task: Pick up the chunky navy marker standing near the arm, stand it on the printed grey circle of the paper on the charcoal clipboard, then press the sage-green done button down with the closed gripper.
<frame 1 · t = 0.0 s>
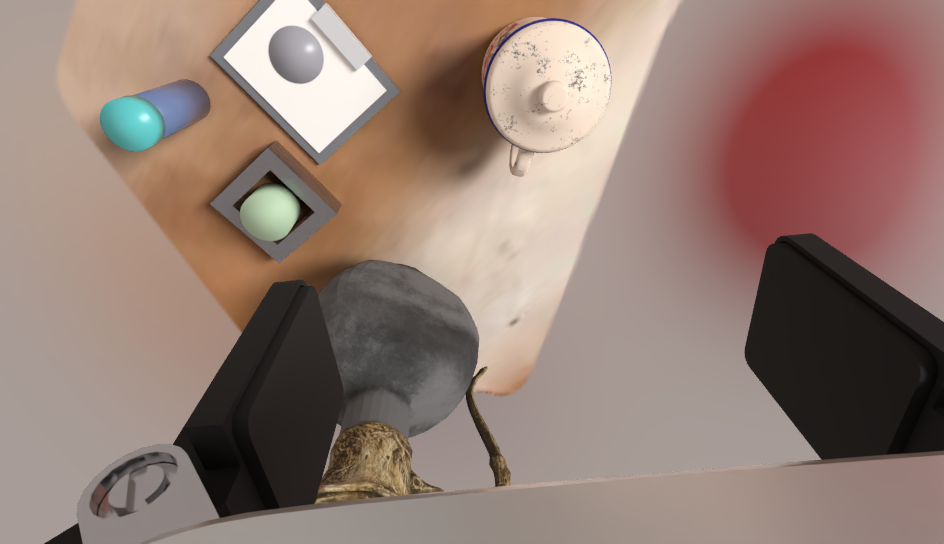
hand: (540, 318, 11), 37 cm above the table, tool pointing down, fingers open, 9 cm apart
done button: (271, 211, 46), point 3 cm above the table, slide at 0.0 cm
done button base: (281, 199, 48), on the table
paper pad: (308, 73, 43), on the table
teacup with lid: (526, 89, 44), on the table
pitcher: (414, 298, 54), on the table
marker: (189, 100, 44), on the table
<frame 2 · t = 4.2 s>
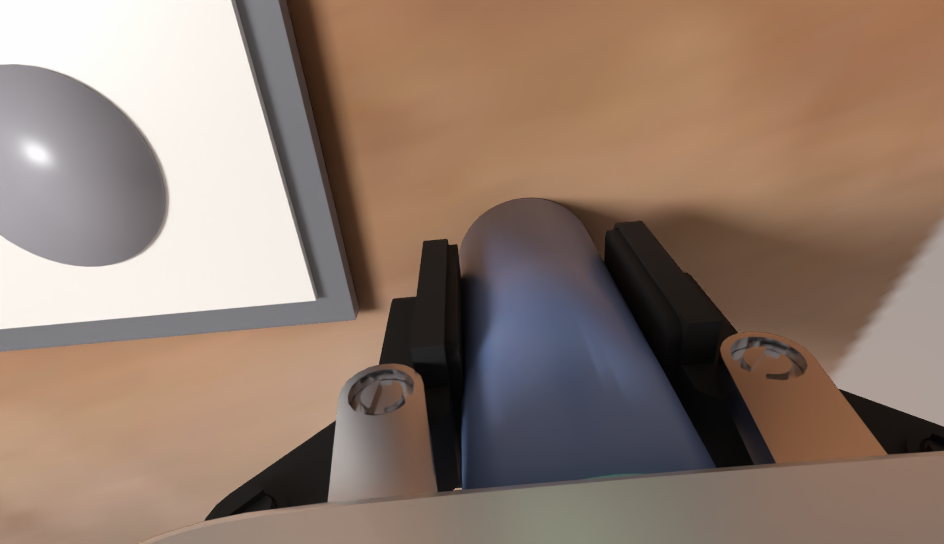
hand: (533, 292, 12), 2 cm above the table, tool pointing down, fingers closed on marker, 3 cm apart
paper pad: (68, 93, 11), on the table
marker: (525, 260, 13), on the table, touching gripper
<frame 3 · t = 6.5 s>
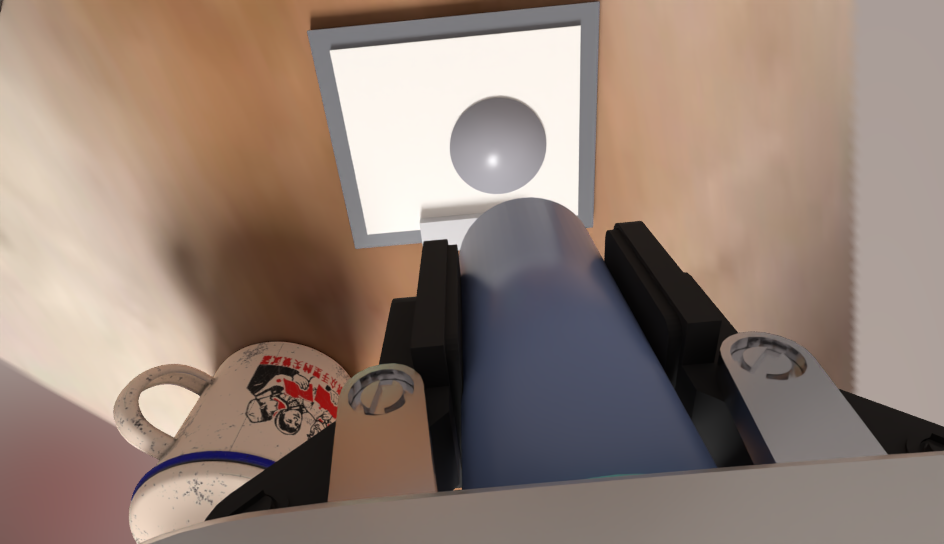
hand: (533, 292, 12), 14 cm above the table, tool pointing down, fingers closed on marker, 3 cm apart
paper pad: (464, 136, 23), on the table
teacup with lid: (270, 380, 30), on the table
marker: (525, 260, 13), point 12 cm above the table, touching gripper
when the fingers open (3 cm above the table, at t = 8.9 s): marker stays where it is, resting on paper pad.
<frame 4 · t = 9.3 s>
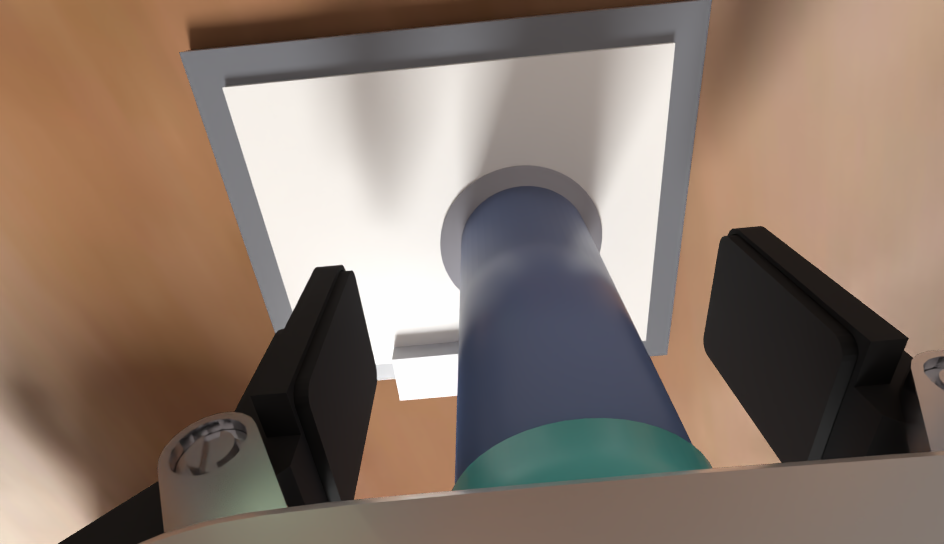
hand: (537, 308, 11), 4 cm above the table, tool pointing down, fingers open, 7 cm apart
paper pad: (464, 221, 14), on the table
marker: (523, 245, 14), point 1 cm above the table, touching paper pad
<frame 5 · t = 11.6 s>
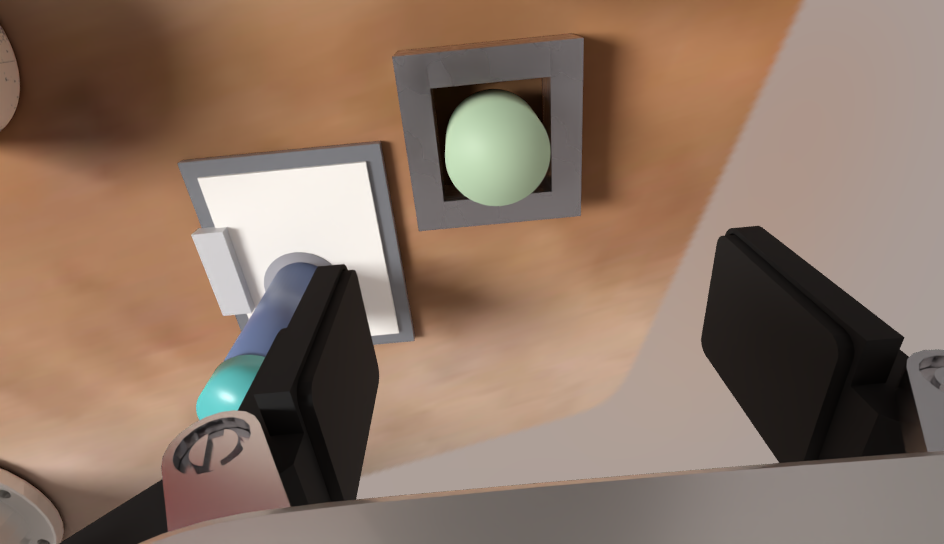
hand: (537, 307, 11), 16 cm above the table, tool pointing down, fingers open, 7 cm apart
done button: (495, 146, 22), point 3 cm above the table, slide at 0.0 cm
done button base: (490, 130, 25), on the table
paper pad: (310, 256, 28), on the table
marker: (304, 289, 28), point 1 cm above the table, touching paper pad
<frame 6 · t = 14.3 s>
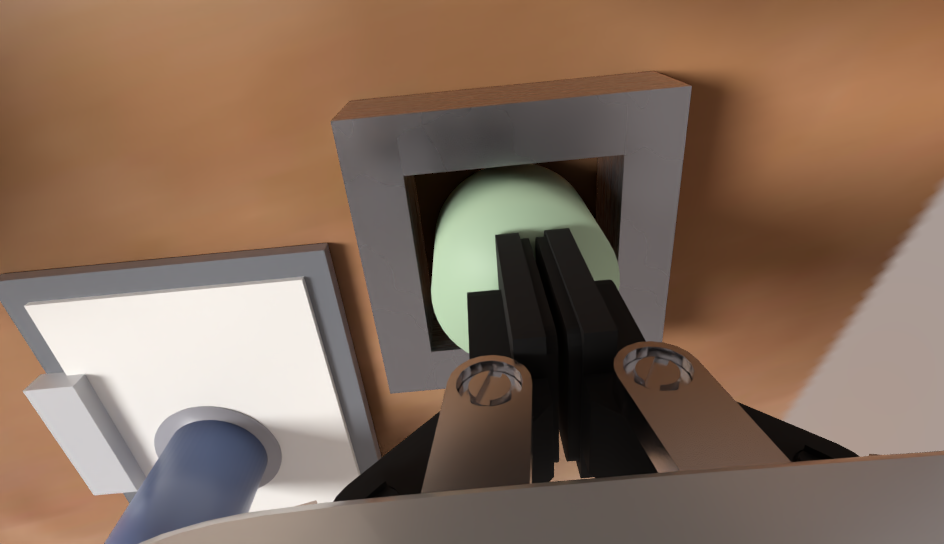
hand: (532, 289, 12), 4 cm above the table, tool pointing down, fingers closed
done button: (518, 262, 13), point 2 cm above the table, slide at 0.7 cm, touching gripper
done button base: (509, 225, 15), on the table
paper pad: (227, 405, 18), on the table
marker: (219, 454, 18), point 1 cm above the table, touching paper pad
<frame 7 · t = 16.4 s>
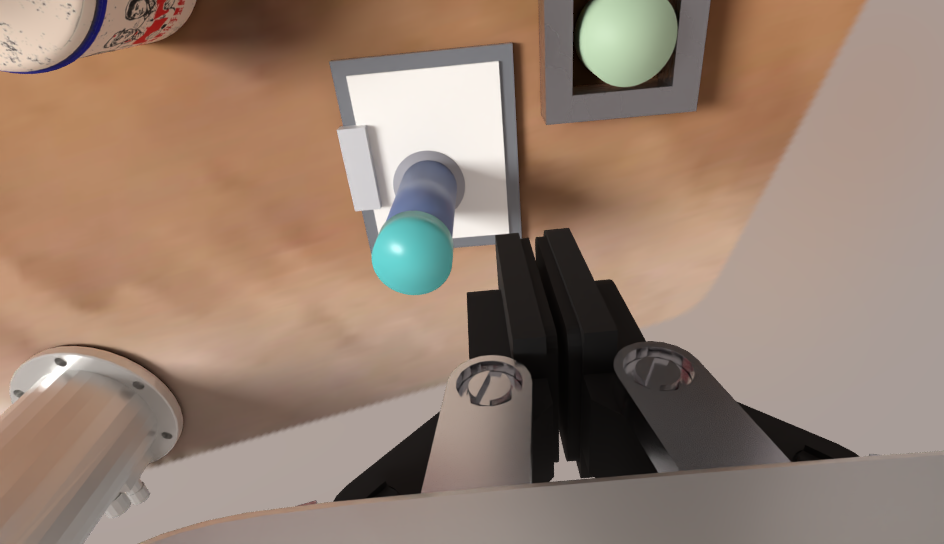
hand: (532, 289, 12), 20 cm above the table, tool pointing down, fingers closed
done button: (622, 35, 26), point 2 cm above the table, slide at 1.2 cm
done button base: (613, 32, 27), on the table
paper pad: (434, 157, 31), on the table
marker: (429, 187, 31), point 1 cm above the table, touching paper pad
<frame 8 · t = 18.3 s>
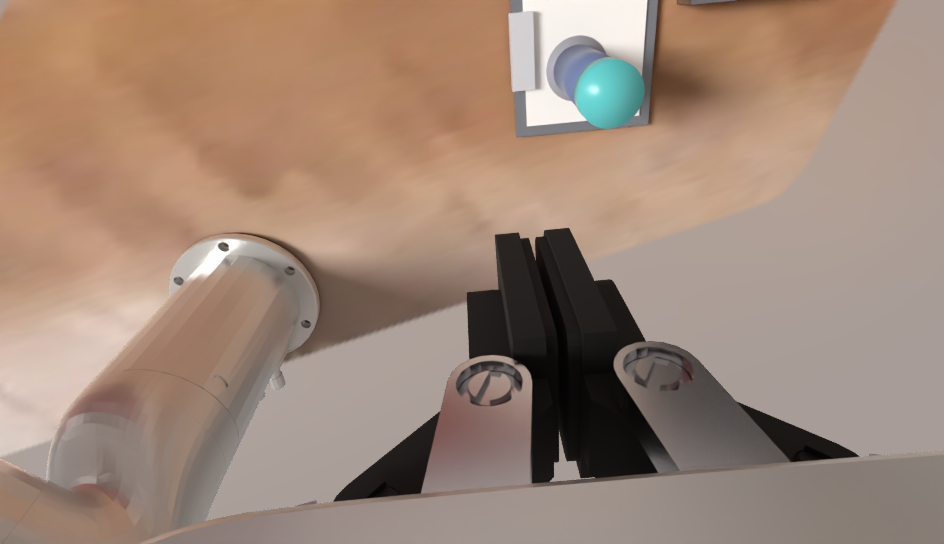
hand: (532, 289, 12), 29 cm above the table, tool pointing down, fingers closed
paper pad: (582, 44, 36), on the table
marker: (577, 70, 36), point 1 cm above the table, touching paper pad
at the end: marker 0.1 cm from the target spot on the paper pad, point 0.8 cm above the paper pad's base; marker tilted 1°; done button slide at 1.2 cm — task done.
